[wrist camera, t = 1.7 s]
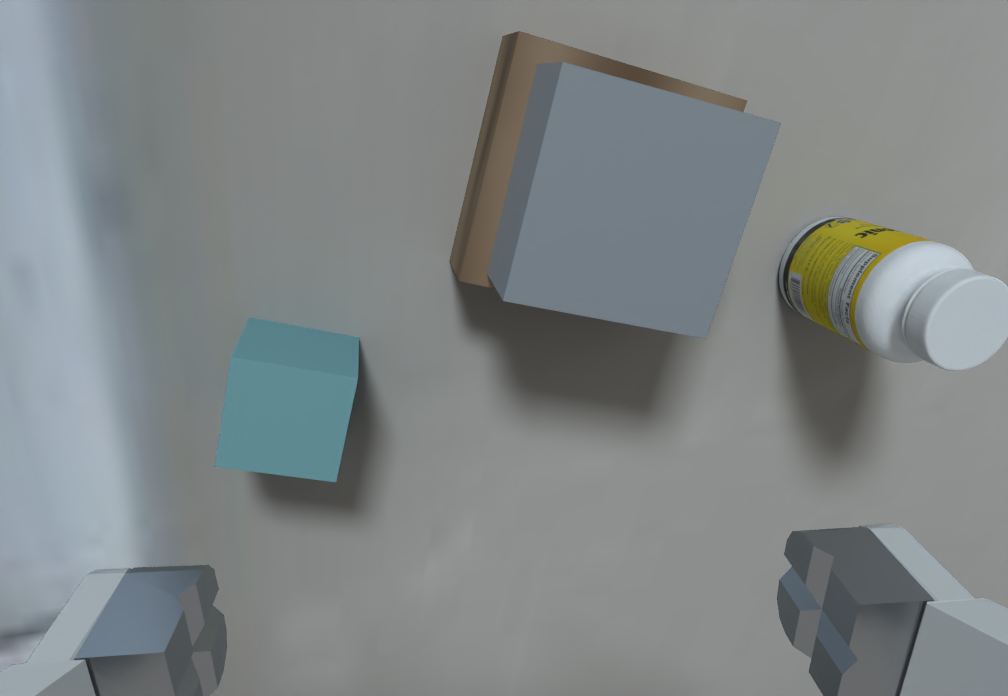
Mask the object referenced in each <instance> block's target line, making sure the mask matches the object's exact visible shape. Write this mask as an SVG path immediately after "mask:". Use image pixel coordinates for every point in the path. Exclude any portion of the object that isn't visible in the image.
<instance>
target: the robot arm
mask: <svg viewBox="0 0 1008 696" xmlns="http://www.w3.org/2000/svg"><path fill="white" fill-rule="evenodd" d="M784 555H785V556H786V558H787V559H788V561H789V562H790V564H791V565H792V567H791V568H790V569H789V570H788V571H787V572H786V573H785V574H784V575H783V576H782V577H781V578H780V579H779V586H778V594H777V603H778V610H779V618H780V620H781V623H782V626H783V628H784V631H785V633H786V635H787V637H788V638H789V640H790V642H791V644H792V645H793V647H795V648H796V649H798V650H800V651H801V652H803V653H804V654H806V655H807V656H809V657H810V658H811V663H810V668H809V673H810V675H811V676H812V678H813V680H814V681H815V683H816V685H817V686H818V688H819V689H820V691H821V693H822V694H823V696H1008V609H1007V608H1005V607H1003V606H1001V605H999V604H997V603H995V602H992V601H990V600H988V599H986V598H980V599H974V598H973V597H972V596H971V595H970V594H969V593H968V592H967V591H966V590H965V589H964V588H963V587H962V586H961V585H960V584H959V583H958V582H957V581H956V580H955V579H954V578H953V577H952V576H951V575H950V574H949V573H948V572H947V571H946V570H945V569H944V568H943V567H942V566H941V565H940V564H939V563H938V562H937V561H936V560H935V559H934V558H933V557H932V556H931V555H930V554H929V553H928V552H927V551H926V550H925V549H924V548H923V547H922V546H921V545H920V544H919V543H918V542H917V541H916V540H915V539H914V538H913V537H912V536H911V535H910V534H909V533H908V532H907V531H906V530H905V529H904V528H903V527H901V526H898V525H896V524H894V523H888V524H876V525H864V526H859V527H851V528H835V529H819V530H804V531H792V533H791V534H790V536H789V538H788V539H787V542H786V547H785V552H784ZM218 590H219V588H218V583H217V579H216V575H215V571H214V569H213V568H212V567H210V566H209V565H193V566H166V567H138V568H133V569H130V568H123V569H102V570H94V571H93V572H91V573H89V574H87V575H86V576H85V577H84V578H83V580H82V581H81V583H80V584H79V586H78V587H77V589H76V590H75V591H74V593H73V594H72V596H71V597H70V599H69V600H68V602H67V603H66V605H65V606H64V608H63V609H62V610H61V612H60V613H59V615H58V616H57V618H56V619H55V621H54V622H53V624H52V625H51V627H50V628H49V629H48V631H47V632H46V634H45V635H44V637H43V638H42V640H41V641H40V643H39V644H38V646H37V647H36V648H35V650H34V651H33V653H32V654H31V656H30V657H29V659H28V660H27V662H26V663H25V664H13V665H11V666H9V667H8V668H6V669H5V670H3V671H2V672H0V696H210V695H211V694H212V693H213V692H214V691H215V690H216V689H217V688H218V686H219V683H220V680H221V677H222V674H223V671H224V665H225V658H226V651H227V629H226V624H225V618H224V615H223V614H222V613H221V612H220V611H219V610H218V609H216V608H215V607H214V606H213V602H214V600H215V597H216V595H217V592H218Z"/></svg>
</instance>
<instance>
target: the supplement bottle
mask: <svg viewBox="0 0 1008 696" xmlns="http://www.w3.org/2000/svg"><path fill="white" fill-rule="evenodd" d="M779 284H780V289H781V292H782V295H783V297H784V299H785V301H786V302H787V304H788V305H789V306H790V307H791V308H792V309H793V310H795V311H796V312H797V313H799V314H801V315H803V316H804V317H806V318H808V319H810V320H812V321H814V322H816V323H818V324H820V325H822V326H823V327H825V328H827V329H829V330H831V331H833V332H835V333H837V334H839V335H841V336H843V337H845V338H847V339H848V340H850V341H852V342H854V343H856V344H858V345H860V346H862V347H863V348H865V349H867V350H869V351H871V352H873V353H875V354H877V355H879V356H881V357H883V358H885V359H888V360H891V361H895V362H901V363H911V362H918V361H922V360H925V361H927V362H929V363H931V364H933V365H936V366H938V367H940V368H942V369H946V370H951V371H961V370H966V369H970V368H973V367H975V366H977V365H979V364H981V363H983V362H985V361H986V360H987V359H989V358H990V357H991V356H992V355H994V354H995V353H996V352H997V351H998V350H999V348H1000V347H1001V346H1002V345H1003V343H1004V342H1005V340H1006V339H1007V337H1008V287H1007V286H1006V285H1005V284H1004V283H1003V282H1002V281H1000V280H999V279H997V278H995V277H992V276H989V275H986V274H983V273H980V272H977V271H974V269H973V267H972V265H971V264H970V262H969V261H968V260H967V258H966V257H965V256H964V255H962V254H961V253H960V252H959V251H957V250H956V249H954V248H952V247H950V246H947V245H944V244H942V243H939V242H935V241H931V240H928V239H924V238H920V237H917V236H914V235H910V234H907V233H903V232H899V231H895V230H892V229H888V228H885V227H881V226H877V225H873V224H869V223H866V222H862V221H858V220H855V219H850V218H845V217H830V218H825V219H822V220H819V221H816V222H814V223H812V224H811V225H809V226H807V227H806V228H805V229H803V230H802V231H801V232H800V233H799V234H798V235H797V236H796V237H795V238H794V239H793V241H792V242H791V243H790V245H789V246H788V248H787V250H786V252H785V254H784V256H783V259H782V261H781V265H780V270H779Z"/></svg>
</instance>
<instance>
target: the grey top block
mask: <svg viewBox="0 0 1008 696" xmlns="http://www.w3.org/2000/svg"><path fill="white" fill-rule="evenodd" d="M780 125H781V123H780V122H776V121H773V120H769V119H766V118H762V117H758V116H755V115H751V114H748V113H744V112H740V111H737V110H733V109H730V108H726V107H723V106H719V105H715V104H712V103H708V102H705V101H701V100H697V99H694V98H690V97H687V96H683V95H680V94H676V93H672V92H669V91H665V90H662V89H658V88H654V87H651V86H647V85H644V84H640V83H637V82H633V81H629V80H626V79H622V78H619V77H615V76H611V75H608V74H604V73H601V72H597V71H594V70H590V69H586V68H583V67H579V66H576V65H572V64H568V63H565V62H555V63H541V64H537V66H536V70H535V74H534V78H533V83H532V87H531V91H530V95H529V99H528V104H527V108H526V112H525V116H524V120H523V124H522V129H521V133H520V137H519V141H518V145H517V150H516V154H515V158H514V162H513V166H512V171H511V175H510V179H509V183H508V187H507V192H506V196H505V200H504V204H503V208H502V213H501V217H500V221H499V225H498V229H497V234H496V238H495V242H494V246H493V250H492V254H491V259H490V263H489V267H488V271H487V275H488V276H489V278H490V280H491V281H492V283H493V285H494V286H495V288H496V290H497V292H498V293H499V295H500V297H501V298H502V300H503V301H505V302H511V303H516V304H522V305H527V306H532V307H538V308H543V309H548V310H554V311H559V312H564V313H570V314H575V315H580V316H586V317H591V318H596V319H602V320H607V321H613V322H618V323H623V324H629V325H634V326H639V327H645V328H650V329H655V330H661V331H666V332H671V333H677V334H682V335H687V336H693V337H698V338H704V339H706V336H707V333H708V331H709V328H710V325H711V322H712V319H713V316H714V313H715V311H716V308H717V305H718V302H719V299H720V296H721V294H722V291H723V288H724V285H725V282H726V279H727V276H728V274H729V271H730V268H731V265H732V262H733V259H734V256H735V254H736V251H737V248H738V245H739V242H740V239H741V237H742V234H743V231H744V228H745V225H746V222H747V219H748V217H749V214H750V211H751V208H752V205H753V202H754V199H755V197H756V194H757V191H758V188H759V185H760V182H761V180H762V177H763V174H764V171H765V168H766V165H767V162H768V160H769V157H770V154H771V151H772V148H773V145H774V142H775V140H776V137H777V134H778V131H779V128H780Z"/></svg>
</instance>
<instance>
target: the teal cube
mask: <svg viewBox="0 0 1008 696" xmlns="http://www.w3.org/2000/svg"><path fill="white" fill-rule="evenodd" d="M358 364H359V337H354V336H348V335H343V334H337V333H332V332H326V331H321V330H315V329H310V328H304V327H299V326H293V325H288V324H282V323H277V322H271V321H266V320H260V319H255V318H249V320H248V322H247V324H246V326H245V329H244V331H243V333H242V335H241V337H240V339H239V341H238V343H237V345H236V347H235V350H234V352H233V354H232V356H231V360H230V367H229V373H228V380H227V387H226V393H225V400H224V407H223V414H222V420H221V427H220V434H219V440H218V447H217V454H216V460H215V467H220V468H228V469H236V470H243V471H251V472H259V473H267V474H275V475H282V476H290V477H298V478H306V479H313V480H321V481H329V482H336V480H337V476H338V471H339V466H340V462H341V457H342V452H343V447H344V443H345V438H346V433H347V429H348V424H349V419H350V414H351V410H352V405H353V400H354V396H355V391H356V386H357V381H358Z"/></svg>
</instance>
